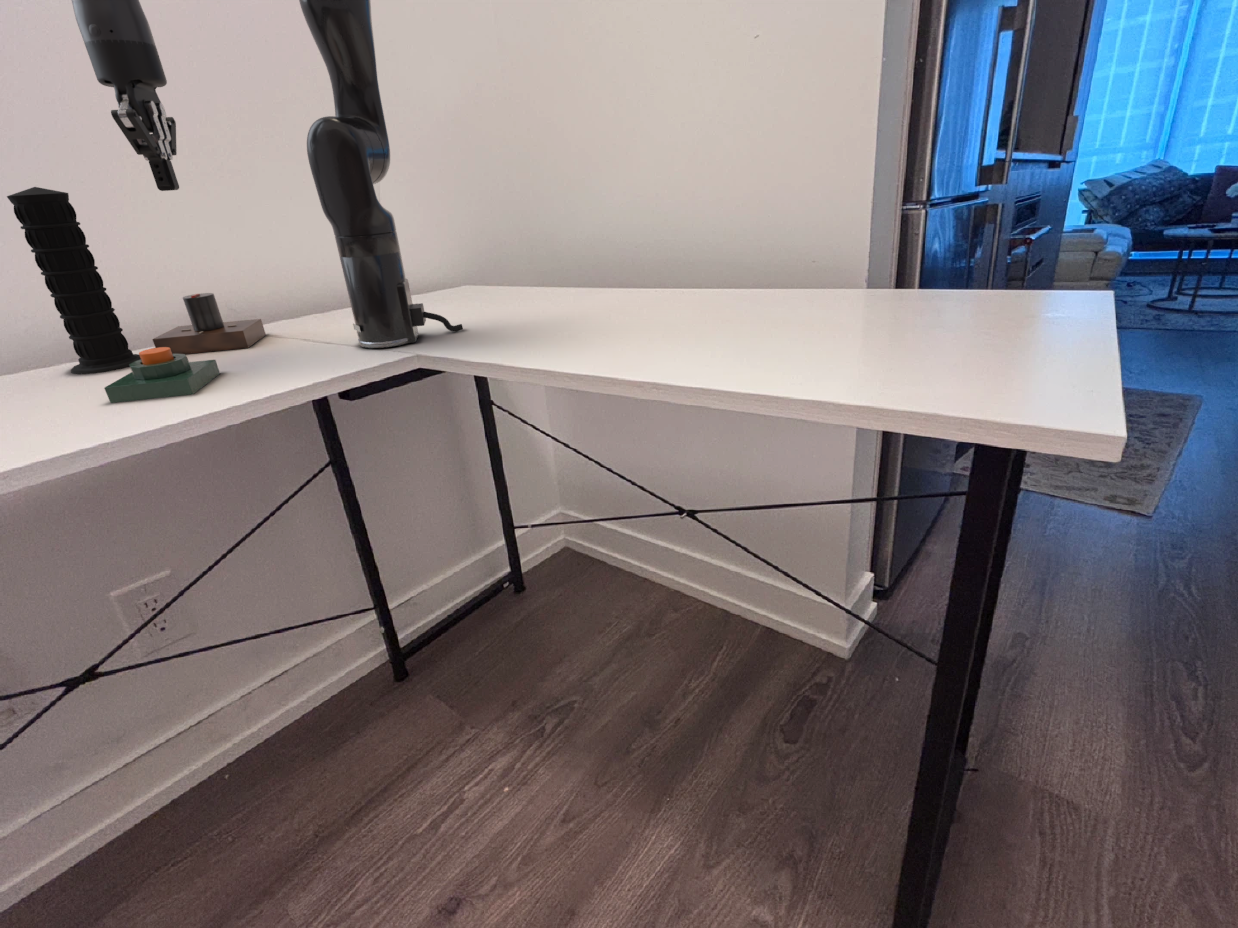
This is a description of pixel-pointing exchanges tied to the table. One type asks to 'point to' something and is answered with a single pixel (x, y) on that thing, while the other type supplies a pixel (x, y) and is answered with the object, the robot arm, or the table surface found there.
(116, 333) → the handle grip
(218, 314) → the dial
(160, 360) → the button
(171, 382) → the button box
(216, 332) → the panel
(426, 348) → the table surface
